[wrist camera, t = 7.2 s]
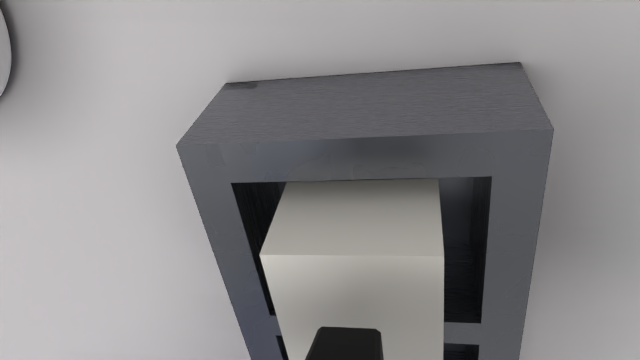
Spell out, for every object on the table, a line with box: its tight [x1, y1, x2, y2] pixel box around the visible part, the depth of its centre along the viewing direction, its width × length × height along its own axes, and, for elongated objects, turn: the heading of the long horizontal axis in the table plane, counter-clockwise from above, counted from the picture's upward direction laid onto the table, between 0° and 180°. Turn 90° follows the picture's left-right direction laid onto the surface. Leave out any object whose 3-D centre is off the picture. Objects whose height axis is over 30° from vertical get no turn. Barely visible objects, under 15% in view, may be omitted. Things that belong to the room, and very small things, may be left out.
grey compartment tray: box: [176, 62, 554, 360], centre depth 18 cm, size 20×9×4 cm, turn 8°
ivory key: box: [259, 178, 444, 360], centre depth 13 cm, size 4×4×3 cm
